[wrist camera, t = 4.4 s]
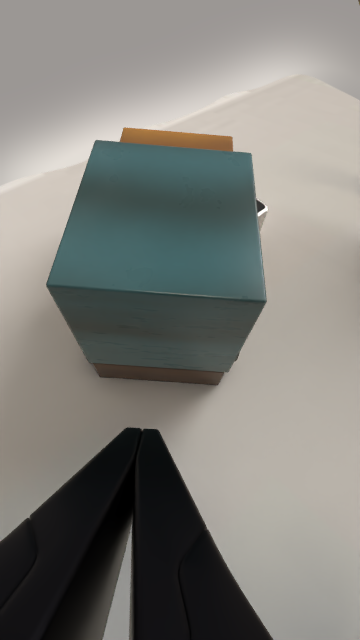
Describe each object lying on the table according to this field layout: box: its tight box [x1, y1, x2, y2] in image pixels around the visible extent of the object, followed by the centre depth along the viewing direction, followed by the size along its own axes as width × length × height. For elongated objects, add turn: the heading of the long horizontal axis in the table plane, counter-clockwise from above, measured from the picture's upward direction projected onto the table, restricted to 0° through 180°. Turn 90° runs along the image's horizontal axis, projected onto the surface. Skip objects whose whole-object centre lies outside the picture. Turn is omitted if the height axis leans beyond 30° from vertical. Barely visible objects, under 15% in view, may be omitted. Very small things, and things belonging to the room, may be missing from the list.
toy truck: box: [46, 128, 267, 385], centre depth 16 cm, size 13×8×8 cm, turn 177°
